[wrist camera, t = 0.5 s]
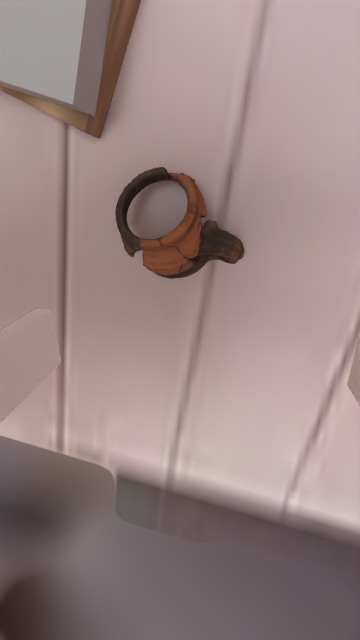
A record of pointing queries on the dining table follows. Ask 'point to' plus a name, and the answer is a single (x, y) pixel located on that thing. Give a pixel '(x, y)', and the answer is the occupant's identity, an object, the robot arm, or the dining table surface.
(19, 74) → the top slab
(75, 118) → the base slab
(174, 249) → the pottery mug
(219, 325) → the dining table surface
